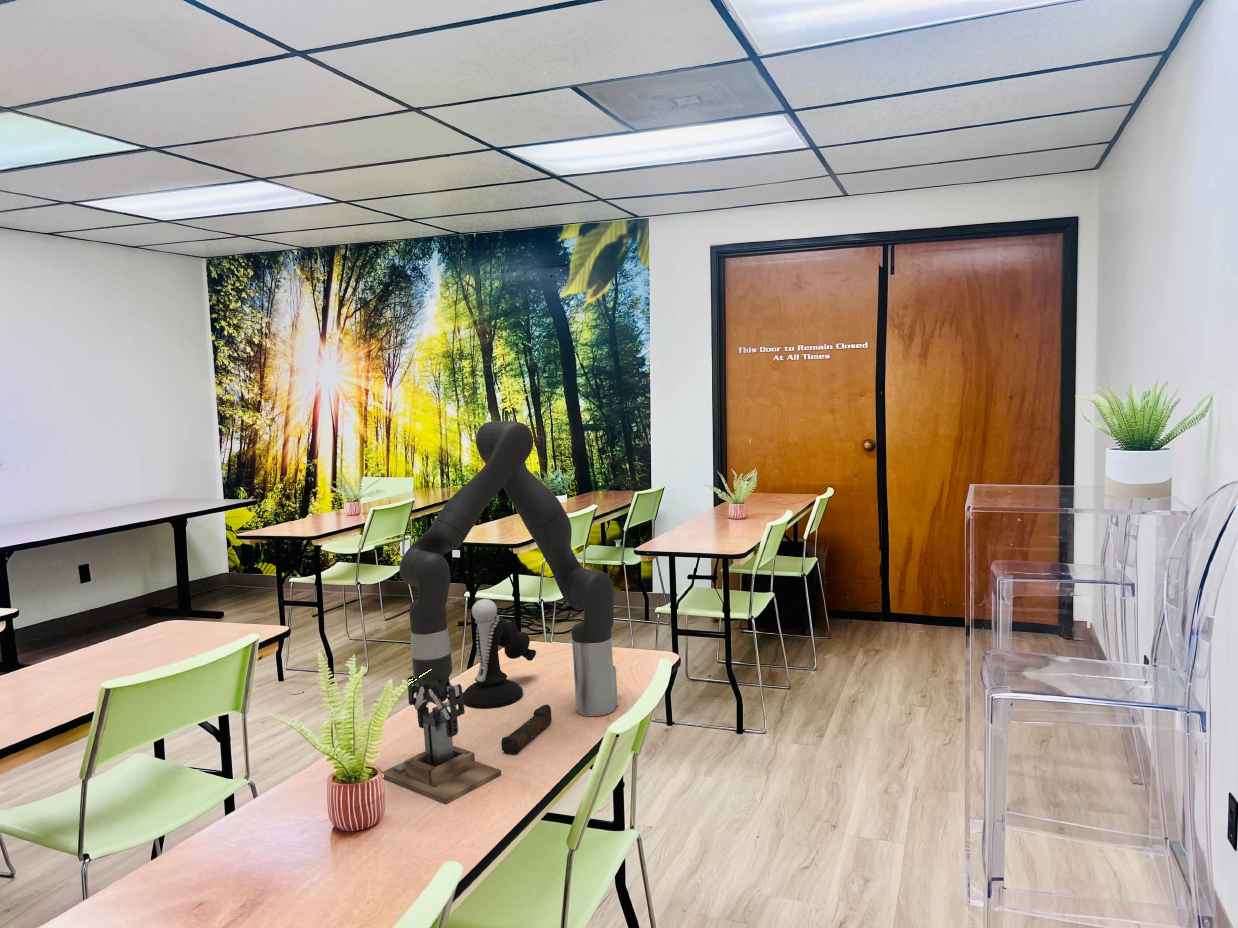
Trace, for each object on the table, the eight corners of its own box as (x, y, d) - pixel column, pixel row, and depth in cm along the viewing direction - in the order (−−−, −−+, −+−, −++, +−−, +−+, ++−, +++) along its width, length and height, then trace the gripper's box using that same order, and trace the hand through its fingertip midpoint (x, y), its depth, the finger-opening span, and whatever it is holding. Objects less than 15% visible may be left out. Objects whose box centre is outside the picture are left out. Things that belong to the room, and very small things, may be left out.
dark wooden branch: (517, 756, 177) (516, 735, 176) (501, 754, 179) (499, 732, 178) (561, 722, 194) (560, 703, 194) (546, 720, 196) (545, 700, 195)
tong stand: (436, 751, 181) (434, 733, 181) (501, 774, 168) (499, 755, 168) (380, 777, 170) (379, 758, 170) (445, 803, 158) (444, 783, 157)
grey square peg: (442, 763, 172) (438, 702, 171) (454, 768, 170) (450, 706, 169) (426, 771, 169) (421, 709, 168) (438, 776, 167) (434, 713, 165)
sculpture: (448, 702, 210) (441, 603, 207) (511, 672, 229) (505, 581, 227) (495, 712, 201) (488, 609, 199) (556, 681, 221) (550, 586, 219)
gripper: (470, 651, 165) (476, 731, 167) (423, 641, 174) (430, 717, 176) (439, 663, 160) (446, 746, 161) (393, 651, 169) (400, 730, 170)
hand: (438, 731), depth 169 cm, fingers open, 8 cm apart
